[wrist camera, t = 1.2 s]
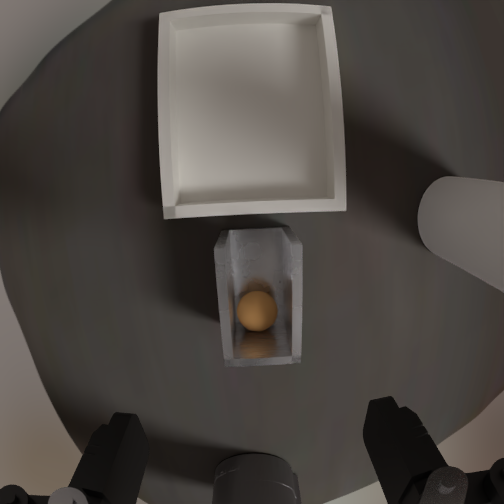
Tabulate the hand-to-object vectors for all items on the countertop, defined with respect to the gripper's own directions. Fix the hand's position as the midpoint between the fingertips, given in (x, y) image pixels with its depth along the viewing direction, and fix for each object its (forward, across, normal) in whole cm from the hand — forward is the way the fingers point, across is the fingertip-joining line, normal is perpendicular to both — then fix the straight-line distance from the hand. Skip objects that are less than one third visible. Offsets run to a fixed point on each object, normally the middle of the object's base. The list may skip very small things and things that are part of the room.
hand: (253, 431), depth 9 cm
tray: (+16, -1, -13) cm, 20 cm away
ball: (+14, -1, +2) cm, 14 cm away
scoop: (+16, -1, 0) cm, 16 cm away
